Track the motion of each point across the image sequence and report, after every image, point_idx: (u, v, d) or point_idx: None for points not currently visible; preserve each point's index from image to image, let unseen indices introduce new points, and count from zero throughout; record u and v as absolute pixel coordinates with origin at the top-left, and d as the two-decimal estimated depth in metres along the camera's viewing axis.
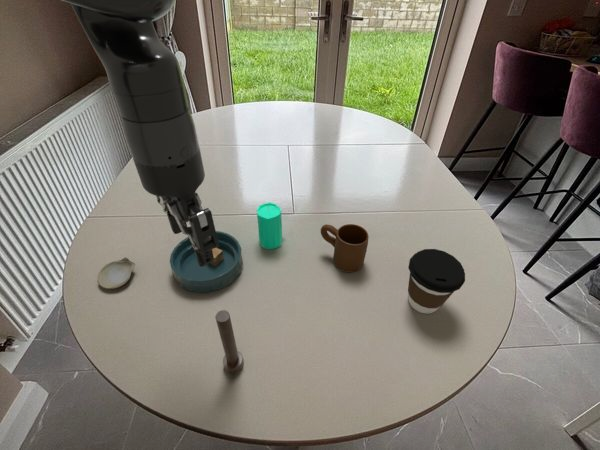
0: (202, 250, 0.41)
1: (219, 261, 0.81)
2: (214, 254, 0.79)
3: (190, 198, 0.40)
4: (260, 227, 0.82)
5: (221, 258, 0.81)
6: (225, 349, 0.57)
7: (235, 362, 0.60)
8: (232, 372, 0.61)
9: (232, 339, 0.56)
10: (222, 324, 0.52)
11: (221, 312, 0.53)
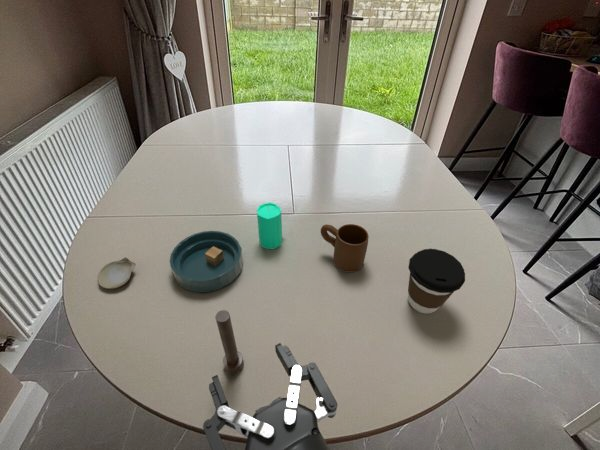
0: (204, 431, 0.35)
1: (219, 261, 0.81)
2: (214, 254, 0.79)
3: None
4: (260, 227, 0.82)
5: (221, 258, 0.81)
6: (225, 349, 0.57)
7: (235, 362, 0.60)
8: (232, 372, 0.61)
9: (232, 339, 0.56)
10: (222, 324, 0.52)
11: (221, 312, 0.53)
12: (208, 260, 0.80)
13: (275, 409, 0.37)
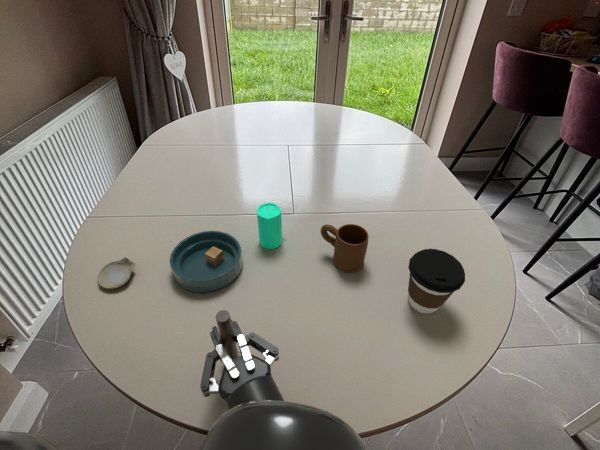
0: (206, 358, 0.53)
1: (219, 261, 0.81)
2: (214, 254, 0.79)
3: (225, 399, 0.50)
4: (260, 227, 0.82)
5: (221, 258, 0.81)
6: (225, 349, 0.57)
7: None
8: None
9: (232, 339, 0.56)
10: (222, 324, 0.52)
11: (221, 312, 0.53)
12: (208, 260, 0.80)
13: (241, 361, 0.53)
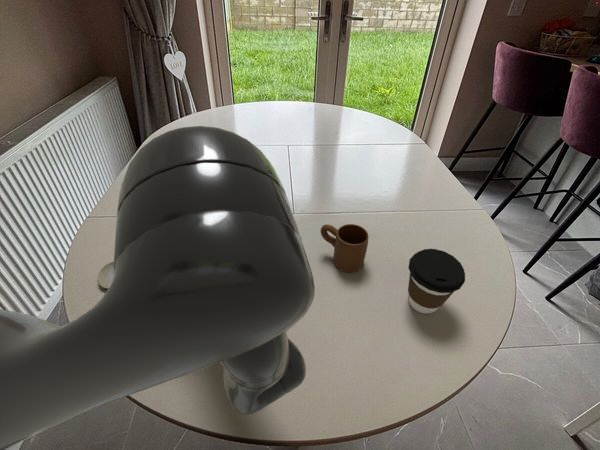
0: None
1: None
2: None
3: None
4: None
5: None
6: None
7: None
8: None
9: None
10: None
11: None
12: None
13: None
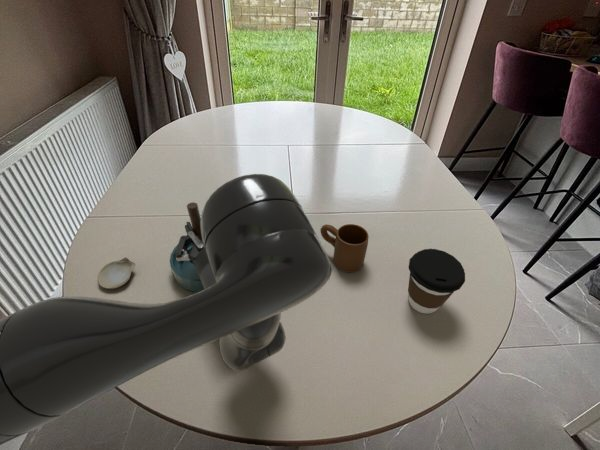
0: (180, 239, 0.71)
1: None
2: None
3: (193, 263, 0.68)
4: None
5: None
6: None
7: None
8: None
9: (200, 229, 0.74)
10: (191, 210, 0.70)
11: (191, 203, 0.71)
12: None
13: None
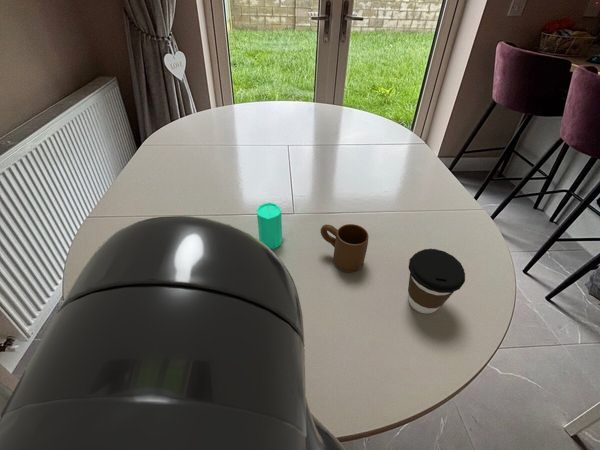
0: None
1: None
2: None
3: None
4: (260, 227, 0.82)
5: None
6: None
7: None
8: None
9: None
10: None
11: None
12: None
13: None
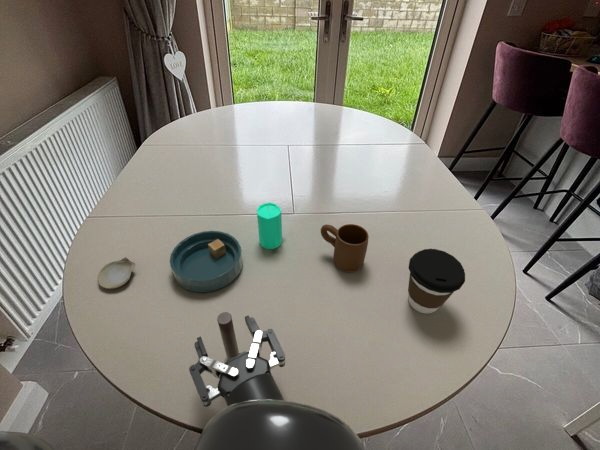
0: (190, 372, 0.51)
1: (220, 254, 0.82)
2: (215, 246, 0.81)
3: (224, 398, 0.49)
4: (260, 227, 0.82)
5: (223, 252, 0.82)
6: (226, 351, 0.57)
7: None
8: None
9: (233, 342, 0.55)
10: (223, 326, 0.51)
11: (223, 314, 0.52)
12: (210, 251, 0.82)
13: (240, 359, 0.52)
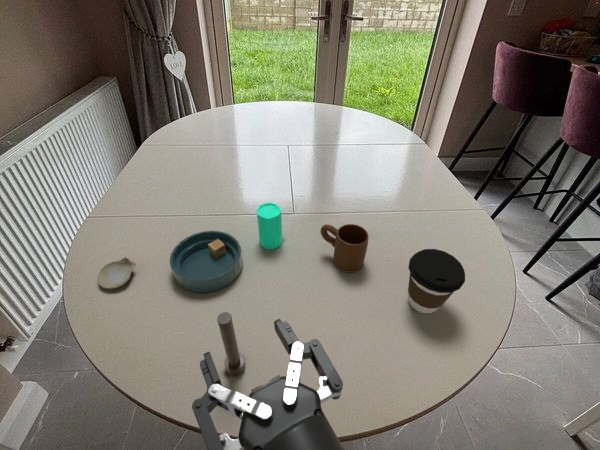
0: None
1: (220, 254, 0.82)
2: (215, 246, 0.81)
3: None
4: (260, 227, 0.82)
5: (223, 252, 0.82)
6: (226, 351, 0.57)
7: (236, 364, 0.60)
8: (233, 374, 0.61)
9: (233, 342, 0.55)
10: (223, 326, 0.51)
11: (223, 314, 0.52)
12: (210, 251, 0.82)
13: (273, 388, 0.33)
